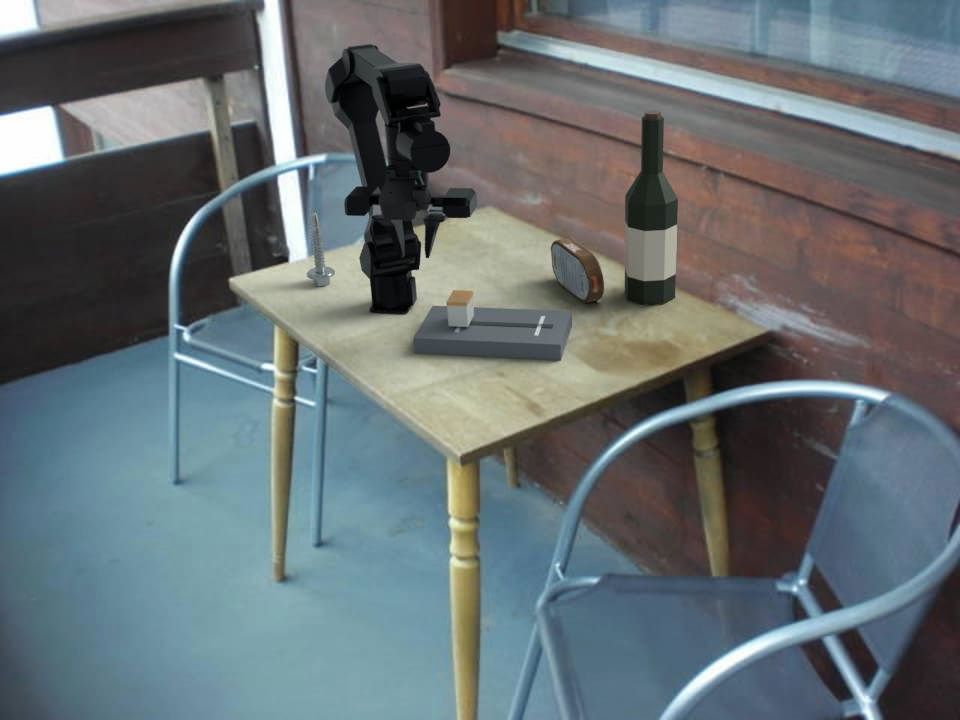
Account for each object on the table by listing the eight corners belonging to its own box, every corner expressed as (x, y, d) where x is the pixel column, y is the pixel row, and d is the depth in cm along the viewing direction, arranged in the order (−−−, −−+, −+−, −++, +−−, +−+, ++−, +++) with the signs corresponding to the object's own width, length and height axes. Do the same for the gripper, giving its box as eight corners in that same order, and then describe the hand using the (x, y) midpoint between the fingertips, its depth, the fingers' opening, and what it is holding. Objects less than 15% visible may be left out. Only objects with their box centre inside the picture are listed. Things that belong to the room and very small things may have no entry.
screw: (317, 291, 195) (302, 283, 198) (341, 283, 197) (326, 276, 201) (308, 218, 189) (293, 212, 192) (333, 211, 191) (318, 205, 195)
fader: (448, 326, 172) (446, 301, 170) (454, 314, 176) (453, 290, 174) (468, 327, 172) (466, 302, 170) (474, 314, 176) (473, 290, 174)
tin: (605, 307, 183) (605, 258, 179) (588, 311, 182) (587, 261, 178) (565, 276, 196) (564, 229, 192) (548, 279, 195) (547, 232, 191)
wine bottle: (641, 309, 181) (643, 122, 168) (614, 291, 188) (614, 110, 175) (685, 298, 184) (691, 113, 171) (657, 281, 191) (661, 102, 178)
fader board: (414, 353, 171) (413, 337, 170) (433, 320, 182) (432, 305, 180) (560, 360, 167) (560, 343, 166) (571, 325, 177) (571, 310, 176)
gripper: (327, 170, 159) (338, 275, 166) (458, 172, 155) (464, 279, 162) (351, 148, 168) (361, 248, 175) (475, 149, 165) (480, 251, 172)
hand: (415, 257), depth 171 cm, fingers open, 4 cm apart
